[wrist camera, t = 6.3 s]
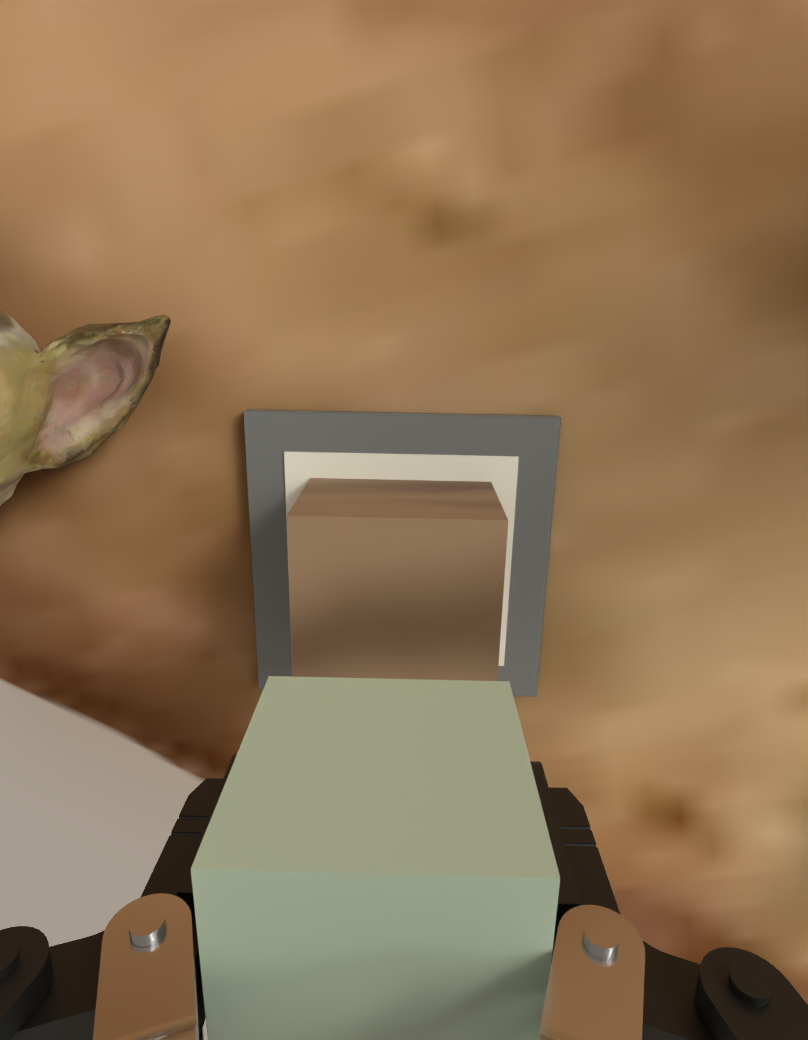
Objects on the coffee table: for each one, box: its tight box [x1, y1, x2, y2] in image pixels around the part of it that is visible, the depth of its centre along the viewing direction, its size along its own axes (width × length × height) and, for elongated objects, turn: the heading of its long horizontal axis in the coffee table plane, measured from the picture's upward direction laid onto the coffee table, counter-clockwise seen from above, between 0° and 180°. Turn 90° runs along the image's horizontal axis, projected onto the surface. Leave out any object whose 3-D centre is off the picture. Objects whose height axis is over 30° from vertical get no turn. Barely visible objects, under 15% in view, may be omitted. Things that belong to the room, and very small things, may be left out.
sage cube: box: [191, 676, 560, 1040], centre depth 12 cm, size 5×5×5 cm
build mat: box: [244, 409, 561, 696], centre depth 27 cm, size 12×12×1 cm
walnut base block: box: [286, 478, 508, 681], centre depth 24 cm, size 7×7×5 cm
